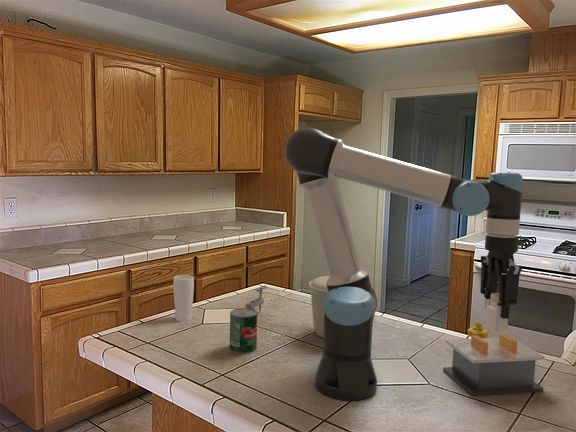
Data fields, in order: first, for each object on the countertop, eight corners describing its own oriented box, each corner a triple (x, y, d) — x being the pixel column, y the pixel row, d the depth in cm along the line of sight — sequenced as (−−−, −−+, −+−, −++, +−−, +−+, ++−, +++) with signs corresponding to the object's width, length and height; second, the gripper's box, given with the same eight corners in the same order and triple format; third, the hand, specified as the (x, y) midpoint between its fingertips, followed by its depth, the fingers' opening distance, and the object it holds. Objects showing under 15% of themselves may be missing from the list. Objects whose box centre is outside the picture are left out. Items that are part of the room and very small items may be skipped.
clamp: (250, 322, 160) (251, 292, 160) (244, 321, 161) (245, 291, 161) (267, 312, 175) (268, 285, 174) (261, 312, 175) (262, 285, 175)
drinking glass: (184, 315, 166) (184, 273, 164) (197, 320, 162) (198, 276, 161) (169, 320, 161) (169, 277, 159) (182, 325, 157) (182, 280, 155)
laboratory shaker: (472, 396, 113) (475, 350, 112) (442, 371, 127) (445, 330, 125) (543, 391, 116) (547, 347, 115) (507, 367, 130) (510, 327, 129)
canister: (358, 349, 140) (361, 279, 138) (299, 340, 146) (301, 273, 143) (368, 330, 157) (371, 267, 155) (315, 322, 163) (317, 262, 160)
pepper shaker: (507, 333, 118) (510, 296, 117) (492, 334, 118) (495, 296, 117) (497, 328, 122) (500, 292, 121) (483, 328, 122) (485, 292, 121)
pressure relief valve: (470, 351, 141) (472, 318, 140) (513, 363, 133) (516, 328, 132) (463, 357, 137) (466, 323, 135) (508, 369, 129) (511, 333, 128)
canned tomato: (234, 342, 143) (234, 306, 142) (259, 345, 141) (260, 309, 140) (225, 352, 135) (226, 315, 134) (252, 355, 134) (253, 317, 132)
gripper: (539, 240, 110) (531, 338, 112) (495, 230, 126) (489, 315, 129) (510, 240, 108) (502, 339, 111) (469, 230, 125) (463, 316, 128)
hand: (495, 326), depth 120 cm, fingers closed on pepper shaker, 4 cm apart
